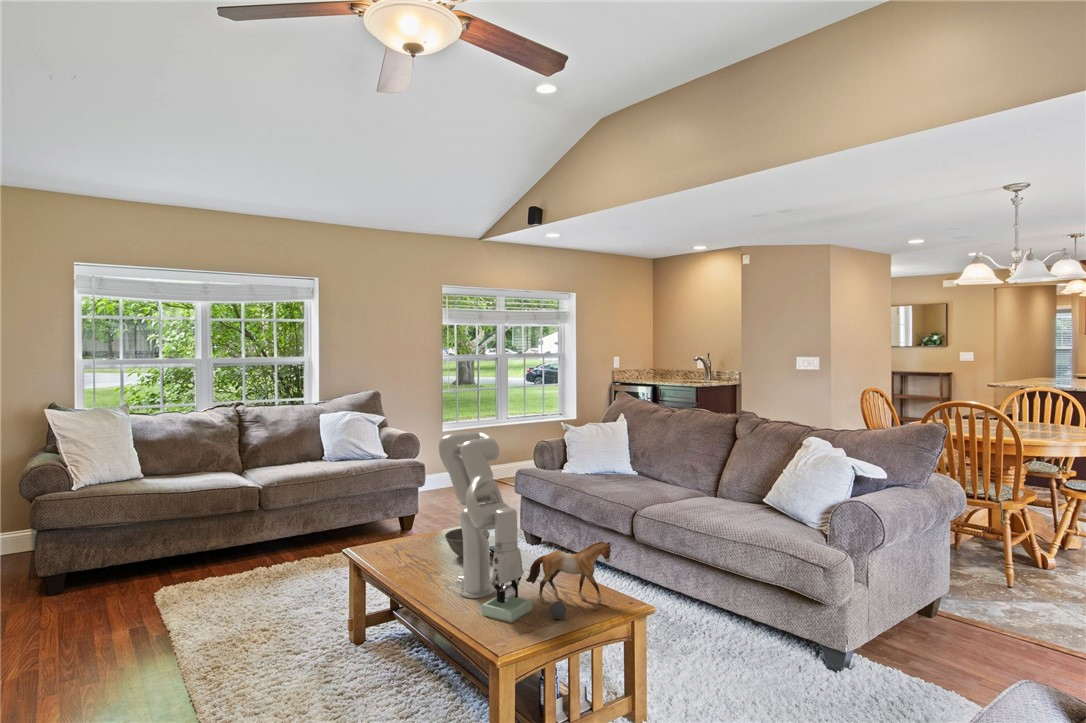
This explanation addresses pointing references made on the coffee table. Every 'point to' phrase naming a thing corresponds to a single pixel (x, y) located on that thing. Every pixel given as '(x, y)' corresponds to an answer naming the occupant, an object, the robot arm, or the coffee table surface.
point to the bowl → (458, 540)
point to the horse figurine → (570, 566)
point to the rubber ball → (558, 610)
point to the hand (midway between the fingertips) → (507, 599)
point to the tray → (507, 609)
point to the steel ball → (509, 592)
